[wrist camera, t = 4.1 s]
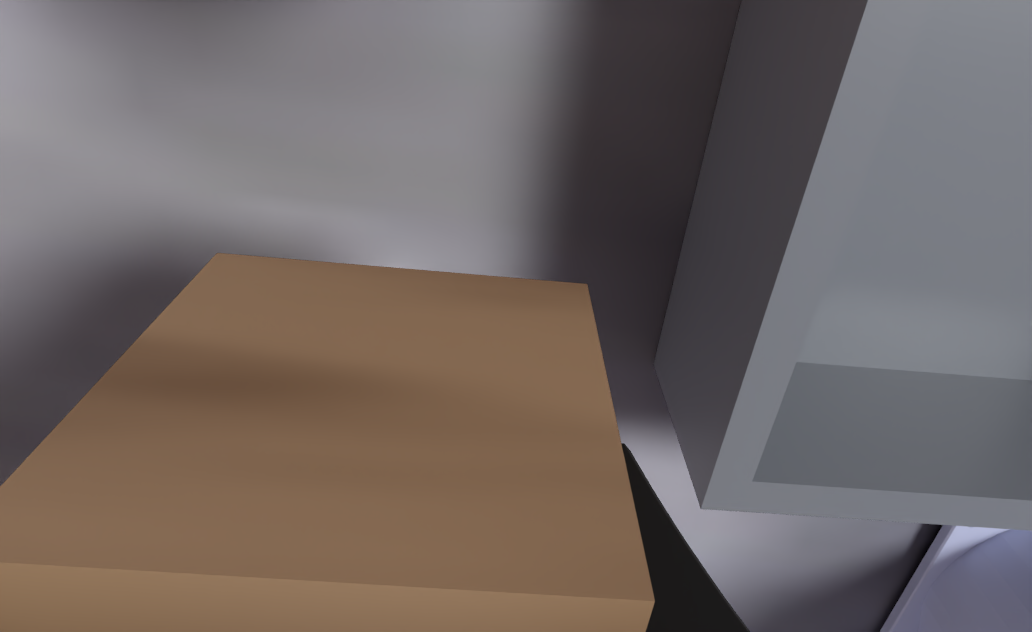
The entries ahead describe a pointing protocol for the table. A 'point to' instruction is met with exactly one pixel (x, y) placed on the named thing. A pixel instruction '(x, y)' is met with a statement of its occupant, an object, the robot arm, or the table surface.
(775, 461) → the tote
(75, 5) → the table surface
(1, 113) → the table surface
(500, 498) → the cube
